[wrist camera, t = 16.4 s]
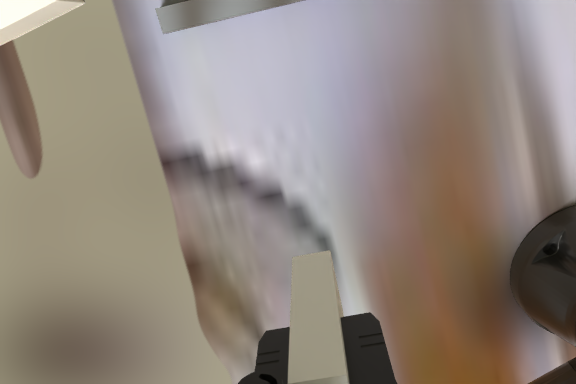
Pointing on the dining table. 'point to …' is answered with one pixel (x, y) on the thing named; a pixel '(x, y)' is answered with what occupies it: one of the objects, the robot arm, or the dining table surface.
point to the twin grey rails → (209, 12)
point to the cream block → (30, 15)
